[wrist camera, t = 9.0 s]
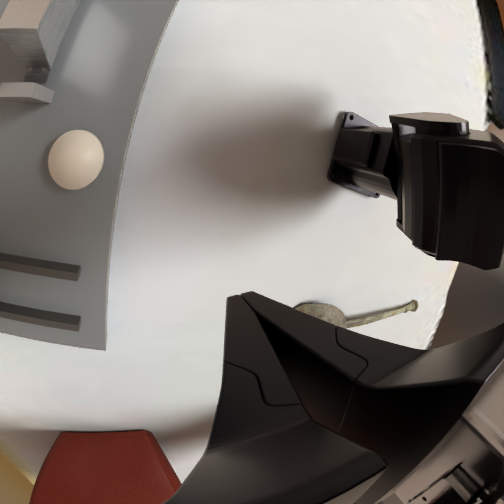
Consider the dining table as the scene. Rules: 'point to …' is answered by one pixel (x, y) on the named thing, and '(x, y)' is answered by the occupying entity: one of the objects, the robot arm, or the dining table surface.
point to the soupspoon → (338, 317)
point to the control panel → (70, 168)
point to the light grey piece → (36, 33)
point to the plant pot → (105, 470)
